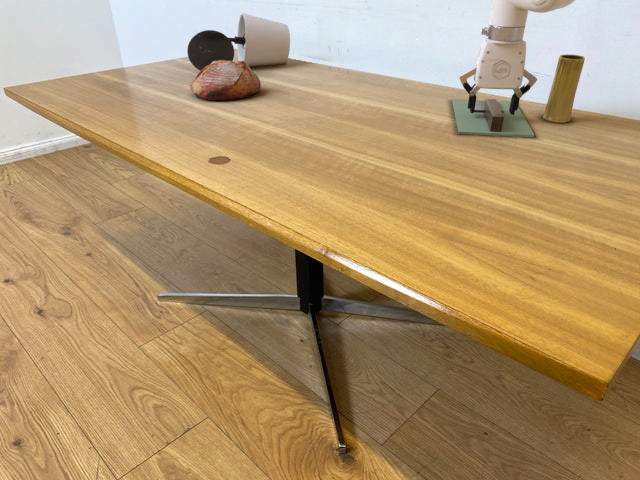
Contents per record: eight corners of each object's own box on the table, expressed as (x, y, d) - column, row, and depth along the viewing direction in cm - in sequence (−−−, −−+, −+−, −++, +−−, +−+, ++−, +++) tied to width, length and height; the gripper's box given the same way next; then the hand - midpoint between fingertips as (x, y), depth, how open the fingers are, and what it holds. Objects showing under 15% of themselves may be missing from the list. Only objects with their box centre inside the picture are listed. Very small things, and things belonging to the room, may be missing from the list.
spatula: (512, 132, 107) (515, 117, 105) (479, 131, 108) (481, 116, 106) (498, 104, 125) (500, 90, 123) (470, 103, 126) (472, 89, 124)
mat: (514, 103, 127) (514, 101, 127) (534, 137, 106) (534, 135, 105) (452, 101, 130) (452, 99, 129) (458, 134, 108) (459, 131, 108)
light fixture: (183, 46, 170) (277, 54, 180) (187, 75, 158) (287, 81, 169) (183, -3, 157) (284, 9, 168) (187, 25, 146) (295, 35, 157)
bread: (266, 101, 135) (264, 64, 129) (194, 108, 130) (189, 70, 124) (254, 83, 148) (252, 49, 142) (188, 89, 142) (183, 53, 137)
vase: (573, 118, 116) (590, 56, 109) (565, 124, 112) (582, 60, 105) (547, 113, 120) (562, 52, 112) (538, 119, 116) (553, 57, 108)
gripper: (465, 36, 104) (454, 115, 113) (551, 37, 101) (532, 118, 110) (463, 30, 110) (453, 106, 119) (543, 32, 108) (526, 109, 117)
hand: (491, 112), depth 115 cm, fingers open, 8 cm apart
